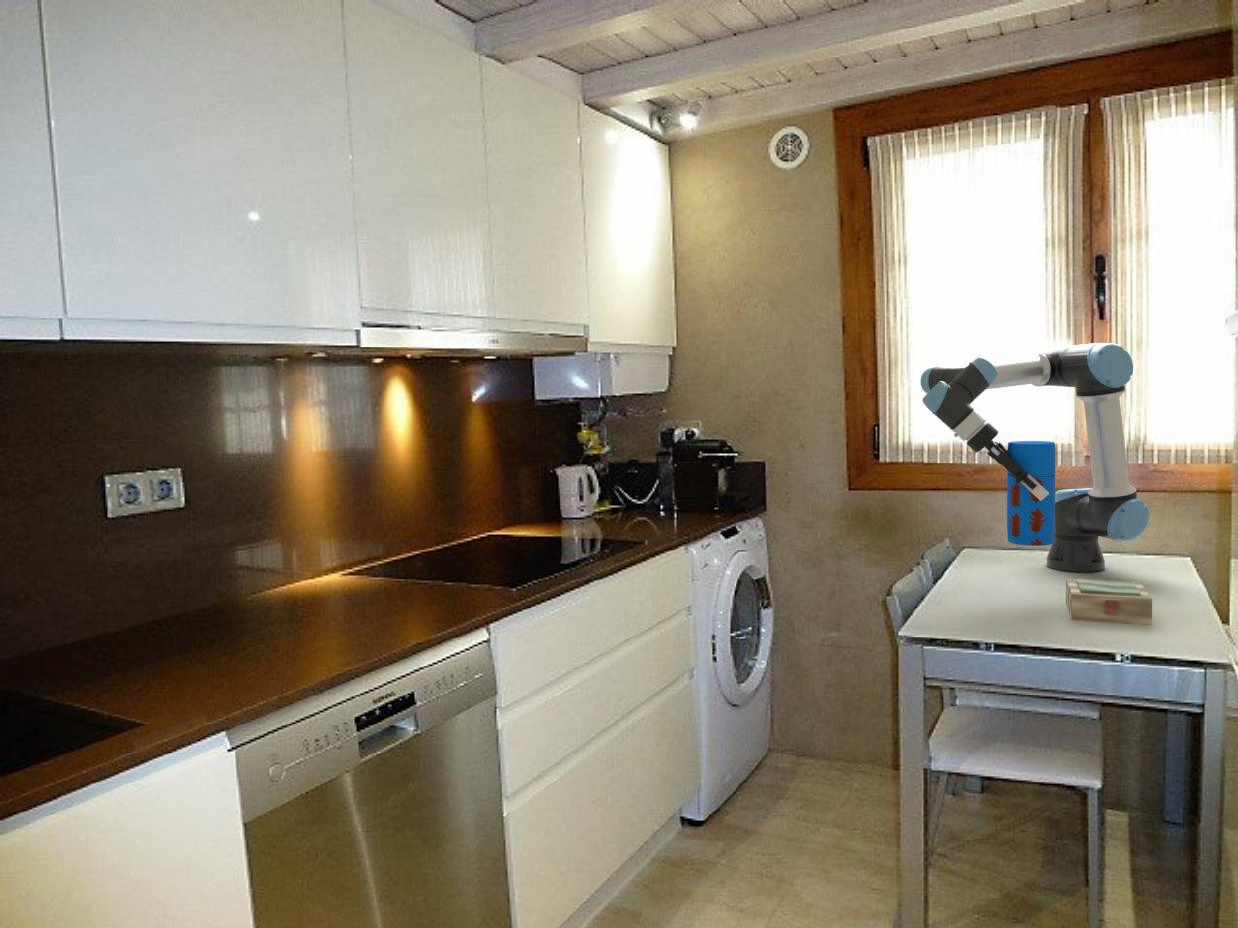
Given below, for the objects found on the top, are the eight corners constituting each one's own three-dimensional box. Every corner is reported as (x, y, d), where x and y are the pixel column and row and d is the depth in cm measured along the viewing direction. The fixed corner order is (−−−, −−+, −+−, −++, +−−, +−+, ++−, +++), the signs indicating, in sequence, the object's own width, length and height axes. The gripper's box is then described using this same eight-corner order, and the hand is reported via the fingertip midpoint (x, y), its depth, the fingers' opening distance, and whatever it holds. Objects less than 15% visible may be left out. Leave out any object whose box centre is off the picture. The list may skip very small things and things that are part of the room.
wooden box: (1065, 602, 219) (1066, 576, 218) (1139, 607, 213) (1140, 580, 212) (1072, 620, 204) (1072, 592, 203) (1152, 625, 198) (1152, 596, 197)
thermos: (1059, 545, 215) (1060, 443, 213) (1012, 545, 217) (1013, 444, 215) (1047, 537, 226) (1048, 440, 224) (1002, 537, 228) (1003, 441, 226)
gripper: (965, 439, 236) (1029, 498, 231) (964, 446, 214) (1034, 511, 210) (987, 419, 233) (1052, 478, 229) (987, 424, 212) (1059, 489, 207)
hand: (1043, 494), depth 219 cm, fingers closed on thermos, 11 cm apart
